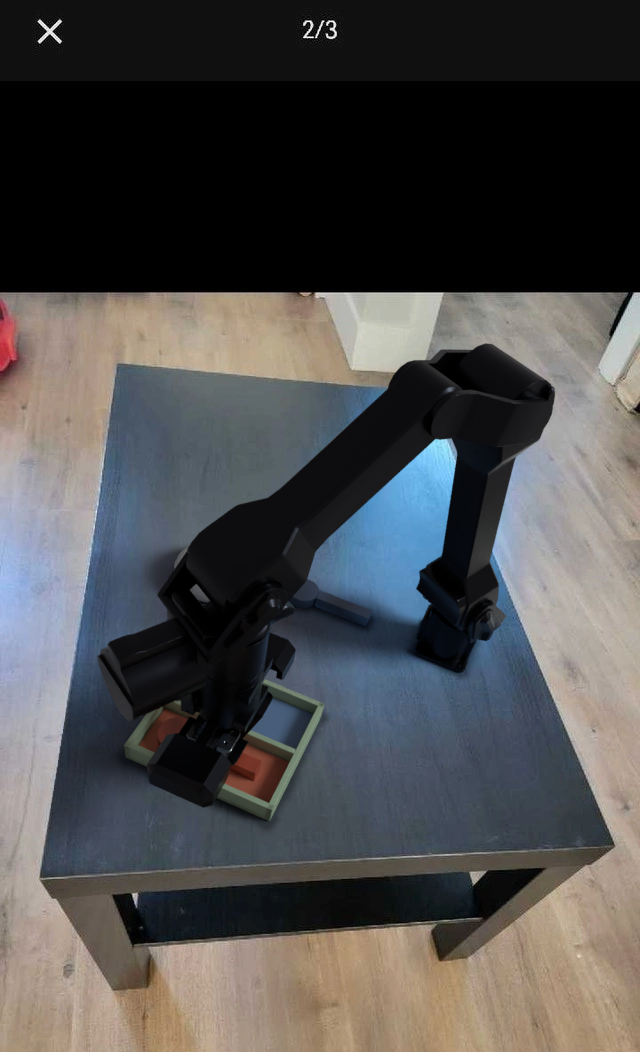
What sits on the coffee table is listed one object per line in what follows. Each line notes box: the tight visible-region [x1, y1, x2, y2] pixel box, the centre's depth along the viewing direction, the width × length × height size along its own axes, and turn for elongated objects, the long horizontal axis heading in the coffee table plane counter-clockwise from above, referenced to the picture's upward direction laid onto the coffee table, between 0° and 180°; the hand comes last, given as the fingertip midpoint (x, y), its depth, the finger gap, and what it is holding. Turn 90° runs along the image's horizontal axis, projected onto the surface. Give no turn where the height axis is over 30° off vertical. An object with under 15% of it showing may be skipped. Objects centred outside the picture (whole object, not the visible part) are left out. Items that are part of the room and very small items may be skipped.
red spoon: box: [157, 717, 262, 781], centre depth 69 cm, size 11×4×2 cm, turn 68°
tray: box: [123, 678, 325, 822], centre depth 72 cm, size 16×14×2 cm
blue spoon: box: [289, 578, 372, 627], centre depth 86 cm, size 11×4×2 cm, turn 68°
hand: (223, 755), depth 69 cm, fingers closed on red spoon, 2 cm apart
